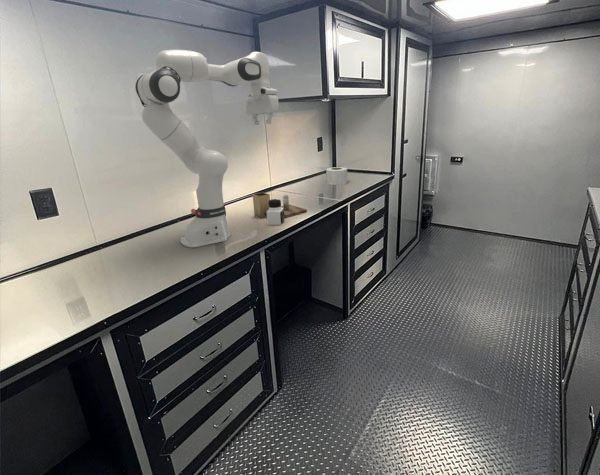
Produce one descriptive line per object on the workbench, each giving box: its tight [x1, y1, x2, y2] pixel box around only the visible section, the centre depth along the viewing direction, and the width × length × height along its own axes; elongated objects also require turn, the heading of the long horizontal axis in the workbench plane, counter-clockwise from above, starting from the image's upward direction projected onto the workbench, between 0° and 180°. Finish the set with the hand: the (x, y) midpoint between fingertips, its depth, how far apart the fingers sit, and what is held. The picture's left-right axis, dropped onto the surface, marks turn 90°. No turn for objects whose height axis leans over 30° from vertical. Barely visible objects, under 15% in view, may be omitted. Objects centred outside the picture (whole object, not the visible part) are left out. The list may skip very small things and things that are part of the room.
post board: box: [281, 194, 308, 219], centre depth 188 cm, size 16×16×10 cm
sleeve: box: [252, 192, 271, 220], centre depth 183 cm, size 6×8×12 cm
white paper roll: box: [325, 166, 348, 186], centre depth 256 cm, size 16×15×11 cm
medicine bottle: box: [266, 198, 286, 226], centre depth 171 cm, size 7×7×12 cm
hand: (262, 124), depth 160 cm, fingers open, 8 cm apart
